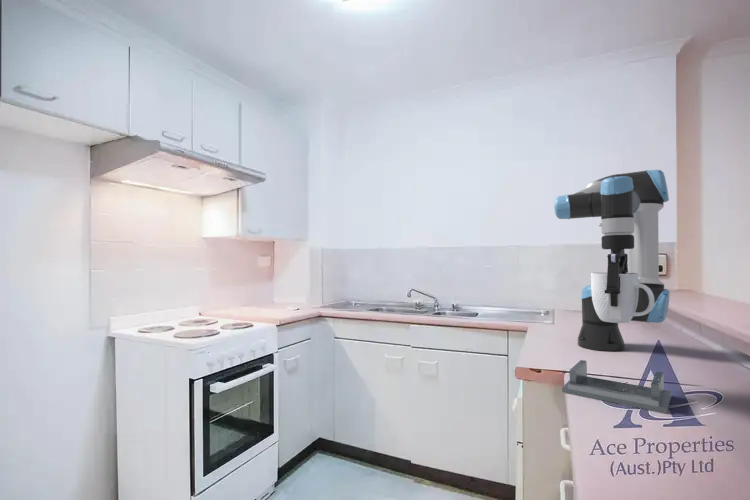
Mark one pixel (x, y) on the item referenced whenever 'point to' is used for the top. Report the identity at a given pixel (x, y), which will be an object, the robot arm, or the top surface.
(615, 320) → the mug
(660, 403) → the dock
